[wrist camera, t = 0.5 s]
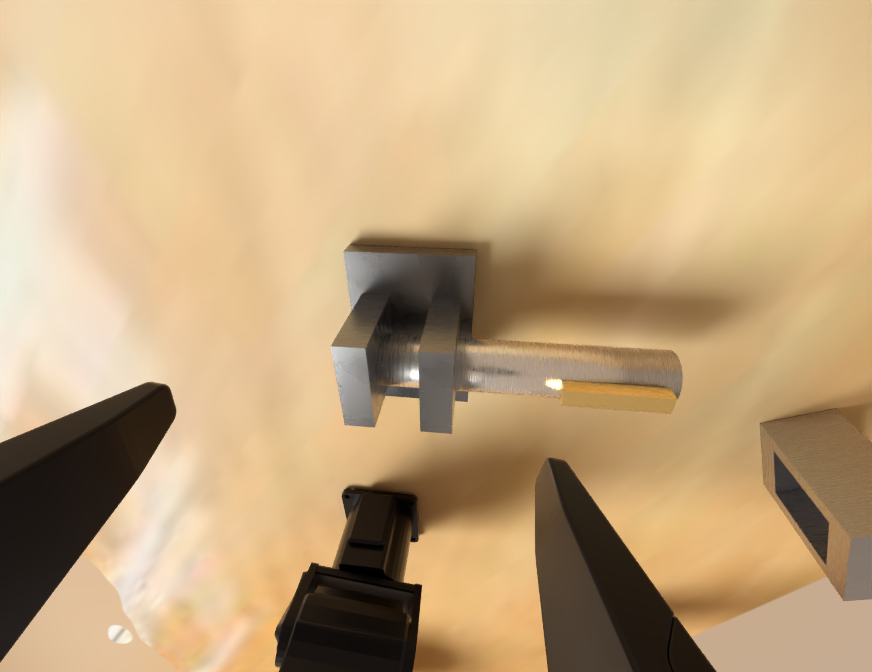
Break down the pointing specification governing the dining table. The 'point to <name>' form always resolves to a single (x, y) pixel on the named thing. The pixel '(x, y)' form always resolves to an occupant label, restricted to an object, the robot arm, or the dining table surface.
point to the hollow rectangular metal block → (825, 492)
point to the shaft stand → (468, 347)
